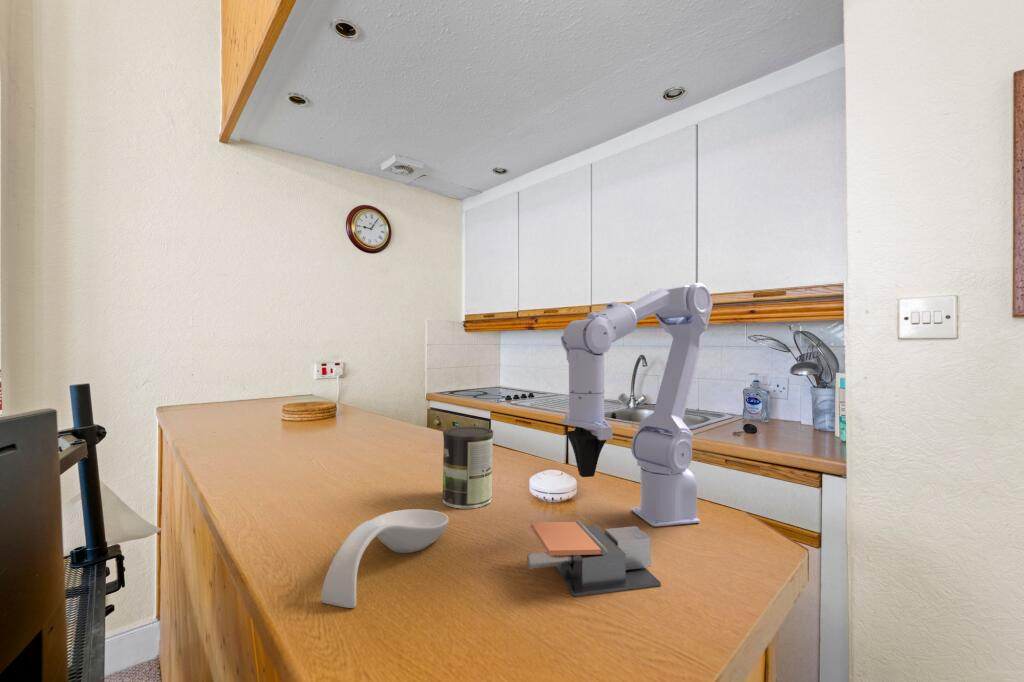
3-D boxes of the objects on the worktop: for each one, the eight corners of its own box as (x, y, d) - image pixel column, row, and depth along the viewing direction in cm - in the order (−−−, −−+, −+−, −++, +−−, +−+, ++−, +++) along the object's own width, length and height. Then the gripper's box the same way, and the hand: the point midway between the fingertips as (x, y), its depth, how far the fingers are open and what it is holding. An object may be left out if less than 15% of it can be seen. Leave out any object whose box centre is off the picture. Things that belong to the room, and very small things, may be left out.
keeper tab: (580, 526, 63) (580, 520, 63) (607, 555, 54) (608, 548, 54) (530, 527, 61) (530, 520, 61) (549, 557, 52) (549, 549, 52)
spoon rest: (396, 524, 73) (397, 483, 74) (459, 532, 71) (459, 489, 71) (296, 602, 51) (297, 542, 51) (382, 618, 48) (383, 555, 48)
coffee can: (439, 510, 80) (440, 436, 80) (444, 492, 90) (445, 426, 90) (493, 509, 81) (494, 435, 81) (491, 491, 91) (492, 426, 91)
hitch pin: (636, 553, 62) (636, 526, 62) (650, 567, 58) (650, 537, 58) (525, 565, 58) (525, 536, 58) (533, 580, 54) (533, 549, 54)
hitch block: (620, 547, 65) (620, 520, 65) (660, 585, 54) (660, 553, 55) (547, 554, 62) (547, 527, 63) (574, 596, 52) (574, 563, 52)
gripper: (549, 388, 75) (549, 465, 74) (580, 397, 60) (581, 492, 60) (586, 388, 76) (586, 462, 76) (625, 396, 62) (625, 488, 62)
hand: (586, 475), depth 68 cm, fingers closed
